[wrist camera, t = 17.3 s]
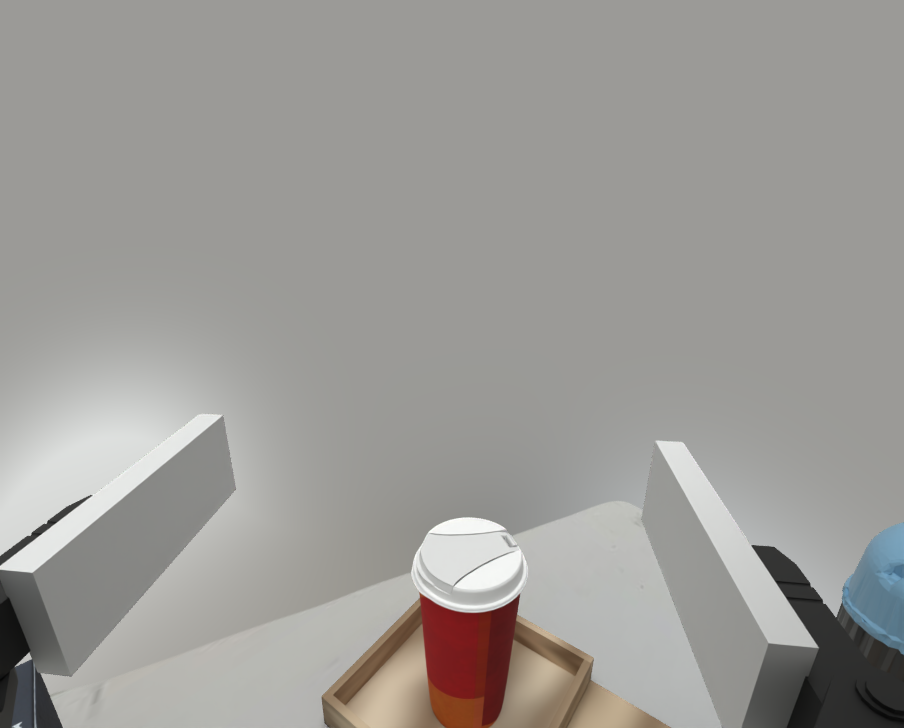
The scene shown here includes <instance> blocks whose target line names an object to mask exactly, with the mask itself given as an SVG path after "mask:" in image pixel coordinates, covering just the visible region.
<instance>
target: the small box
mask: <svg viewBox="0 0 904 728" xmlns="http://www.w3.org/2000/svg"><path fill="white" fill-rule="evenodd" d="M15 670H16V672H17V676H18V686H17V692H16V699H15V705H14V712H13V718H12V725H11V728H63V727H62V724H61V722H60V720H59V718H58V715H57V712H56V710H55V708H54V705H53V703H52V700H51V698H50V695H49V693H48V691H47V688H46V686H45V683H44V681H43V679H42V677H41V674H40V673H38V672H37V670H36V667H35V665H34V662H33V660H29V661H27V662H25V663H23V664H20V665H19V666H16V667H15Z"/></svg>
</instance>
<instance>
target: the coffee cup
mask: <svg viewBox="0 0 904 728" xmlns="http://www.w3.org/2000/svg"><path fill="white" fill-rule="evenodd" d="M411 576H412V579H413V582H414V584H415V586H416V588H417V589H418V591H419V593H420V603H421V615H422V626H423V637H424V647H425V658H426V668H427V678H428V687H429V696H430V702H431V706H432V709H433V712H434V714H435V716H436V718H437V719H438V720H439V722H440V723H441V724H442V725H443V726H445V727H446V728H489V727H490V726H492V725H493V724H494V722H495V721H496V720H497V718H498V716H499V714H500V712H501V709H502V705H503V701H504V696H505V690H506V684H507V678H508V671H509V665H510V658H511V652H512V645H513V639H514V632H515V625H516V618H517V612H518V605H519V598H520V593H521V591H522V590H523V588H524V586H525V584H526V581H527V576H528V567H527V562H526V559H525V557H524V555H523V553H522V551H521V550H520V549H519V547H518V544H517V543H516V542H515V540H514V539H513V537H512V536H511V535H510V534H508V532H507V530H506V529H505V528H504V527H502V526H500V525H499V524H497V523H494V522H491V521H488V520H485V519H480V518H457V519H452V520H449V521H446V522H443V523H441V524H439V525H437V526H436V527H434V528H433V529H432V530H430V531H429V533H428V534H427V536H426V538H425V540H424V542H423V544H422V545H421V546H420V548H419V550H418V551H417V553H416V555H415V558H414V562H413V567H412V571H411Z"/></svg>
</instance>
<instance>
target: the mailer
mask: <svg viewBox="0 0 904 728" xmlns="http://www.w3.org/2000/svg"><path fill="white" fill-rule="evenodd" d="M593 660H594V658H593V657H591V656H590V655H588V654H586V653H584V652H582V651H581V650H579V649H577V648H575V647H574V646H572V645H570V644H568V643H566V642H565V641H563V640H561V639H559V638H558V637H556V636H554V635H552V634H551V633H549V632H547V631H545V630H543V629H542V628H540V627H538V626H536V625H535V624H533V623H531V622H529V621H527V620H526V619H524V618H522V617H520V616H519V615H517V618H516V625H515V632H514V639H513V645H512V652H511V658H510V665H509V671H508V678H507V684H506V690H505V696H504V701H503V705H502V709H501V712H500V714H499V716H498V718H497V720H496V721H495V722H494V724H493V725H492V726H490V727H489V728H671V727H669V726H667V725H666V724H664V723H662V722H661V721H659V720H657V719H656V718H654V717H652V716H650V715H649V714H647V713H645V712H644V711H642V710H640V709H639V708H637V707H635V706H634V705H632V704H630V703H628V702H627V701H625V700H623V699H622V698H620V697H618V696H617V695H615V694H613V693H612V692H610V691H608V690H606V689H605V688H603V687H601V686H600V685H598V684H596V683H595V682H593V681H591V673H592V667H593ZM322 705H323V713H324V721H325V724H326V725H327V726H329V727H330V728H446V727H445V726H443V725H442V724H441V723H440V722H439V720H438V719H437V718H436V716H435V714H434V712H433V709H432V706H431V702H430V696H429V687H428V678H427V668H426V658H425V647H424V637H423V626H422V615H421V603H420V598H419V599H418V600H417V601H416V602H415V603H414V604H413V605H412V606H411V607H410V608H409V609H408V610H407V611H406V612H405V613H404V614H403V615H402V616H401V617H400V618H399V619H398V620H397V621H396V622H395V623H394V624H393V625H392V626H391V627H390V628H389V629H388V630H387V631H386V632H385V633H384V634H383V635H382V636H381V637H380V638H379V639H378V640H377V641H376V642H375V643H374V644H373V645H372V646H371V647H370V648H369V649H368V650H367V651H366V652H365V653H364V654H363V655H362V656H361V657H360V658H359V659H358V660H357V661H356V662H355V663H354V664H353V665H352V666H351V667H350V668H349V669H348V670H347V671H346V672H345V673H344V674H343V675H342V676H341V677H340V678H339V679H338V680H337V681H336V682H335V683H334V684H333V685H332V686H331V687H330V688H329V689H328V690H327V691H326V692H325V693H324V694H323V695H322Z"/></svg>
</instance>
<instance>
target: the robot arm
mask: <svg viewBox="0 0 904 728" xmlns="http://www.w3.org/2000/svg"><path fill="white" fill-rule="evenodd" d="M235 490H236V487H235V481H234V475H233V469H232V463H231V458H230V452H229V447H228V441H227V435H226V429H225V424H224V418H223V415H212V414H199V415H198V416H197V417H195V418H194V419H193V420H191V421H190V422H189V423H187V424H186V425H185V426H184V427H182V428H181V429H180V430H178V431H177V432H176V433H174V434H173V435H172V436H170V437H169V438H168V439H166V440H165V441H164V442H162V443H161V444H160V445H158V446H157V447H156V448H154V449H153V450H152V451H150V452H149V453H148V454H147V455H145V456H144V457H143V458H141V459H140V460H139V461H137V462H136V463H135V464H133V465H132V466H131V467H129V468H128V469H127V470H126V471H124V472H123V473H122V474H120V475H119V476H118V477H117V478H115V479H114V480H112V481H111V482H110V483H108V484H107V485H106V486H105V487H103V488H102V489H101V490H99V491H98V492H97V493H95V494H94V495H90V496H88V497H86V498H84V499H82V500H80V501H78V502H76V503H74V504H72V505H69V506H68V507H66V508H65V509H63V510H62V511H60V512H59V513H58V514H56V515H55V516H54V517H52V518H51V519H50V520H48V522H47V524H43V525H42V526H40V527H39V528H37V529H36V530H35V531H33V532H32V535H31V536H27V537H25V538H24V539H23V540H21V541H20V542H19V543H17V544H16V545H15V546H13V547H12V548H11V549H9V550H8V551H7V552H5V553H4V554H2V555H1V556H0V728H11V725H12V718H13V712H14V705H15V699H16V692H17V686H18V676H17V672H16V670H15V665H16V664H17V663H19V662H20V661H21V660H22V659H23V657H25V656H26V655H27V654H28V653H29V652H30V655H31V657H32V660H33V662H34V665H35V667H36V670H37V672H38V673H45V674H53V675H62V676H70V677H71V676H72V675H73V674H74V673H75V672H76V671H77V670H78V668H79V667H80V666H81V665H82V664H83V663H84V662H85V661H86V659H87V658H88V657H89V656H90V655H91V654H92V652H93V651H94V650H95V649H96V648H97V647H98V646H99V645H100V643H101V642H102V641H103V640H104V639H105V638H106V637H107V635H108V634H109V633H110V632H111V631H112V630H113V629H114V628H115V626H116V625H117V624H118V623H119V622H120V621H121V619H122V618H123V617H124V616H125V615H126V614H127V613H128V612H129V610H130V609H131V608H132V607H133V606H134V605H135V604H136V602H137V601H138V600H139V599H140V598H141V597H142V596H143V595H144V593H145V592H146V591H147V590H148V589H149V588H150V587H151V585H152V584H153V583H154V582H155V581H156V579H158V577H159V576H160V575H161V574H162V573H163V572H164V571H165V569H166V568H167V567H168V566H169V565H170V564H171V563H172V561H173V560H174V559H175V558H176V557H177V556H178V555H179V554H180V552H181V551H182V550H183V549H184V548H185V547H186V546H187V544H188V543H189V542H190V541H191V540H192V539H193V538H194V537H195V535H196V534H197V533H198V532H199V531H200V530H201V529H202V527H203V526H204V525H205V524H206V523H207V522H208V521H209V519H210V518H211V517H212V516H213V515H214V514H215V513H216V511H217V510H218V509H219V508H220V507H221V506H222V505H223V504H224V502H225V501H226V500H227V499H228V498H229V497H230V496H231V494H232V493H233V492H234V491H235ZM641 520H642V522H643V525H644V528H645V530H646V533H647V535H648V538H649V540H650V543H651V546H652V548H653V551H654V553H655V556H656V558H657V561H658V563H659V566H660V569H661V571H662V574H663V576H664V579H665V581H666V584H667V587H668V589H669V592H670V594H671V597H672V599H673V602H674V605H675V607H676V610H677V612H678V615H679V617H680V620H681V623H682V625H683V628H684V630H685V633H686V635H687V638H688V640H689V643H690V646H691V648H692V651H693V653H694V656H695V658H696V661H697V664H698V666H699V669H700V671H701V674H702V676H703V679H704V682H705V684H706V687H707V689H708V692H709V694H710V697H711V699H712V702H713V705H714V707H715V710H716V712H717V715H718V717H719V720H720V723H721V725H722V728H904V522H903V523H900V524H897V525H894V526H891V527H889V528H887V529H885V530H883V531H882V532H880V533H879V534H878V535H877V536H875V537H874V538H873V540H872V541H871V542H870V543H869V545H868V546H867V548H866V550H865V552H864V554H863V556H862V558H861V560H860V562H859V564H858V566H857V568H856V570H855V572H854V574H852V575H851V576H850V577H849V578H848V579H847V581H846V582H845V584H844V586H843V590H842V591H843V596H842V604H841V606H840V609H839V612H838V615H837V617H835V616H834V615H833V613H832V612H831V611H830V609H829V608H828V607H827V605H826V604H823V600H822V599H821V597H820V596H819V594H818V593H817V592H816V590H815V589H814V588H812V587H811V586H810V582H809V581H808V580H807V579H806V577H805V576H804V574H803V573H802V572H801V570H800V569H799V568H798V566H797V565H796V564H795V563H794V562H792V561H791V560H790V559H789V558H787V557H786V556H785V555H784V554H782V553H781V552H780V551H778V550H777V549H776V548H775V547H769V546H756V545H750V543H749V542H748V540H747V539H746V537H745V536H744V534H743V533H742V531H741V529H740V528H739V526H738V525H737V524H736V522H735V520H734V519H733V517H732V516H731V515H730V513H729V511H728V510H727V508H726V507H725V505H724V504H723V502H722V501H721V499H720V498H719V496H718V495H717V493H716V492H715V490H714V489H713V487H712V486H711V484H710V483H709V481H708V480H707V478H706V477H705V475H704V474H703V472H702V471H701V469H700V467H699V466H698V464H697V463H696V461H695V460H694V458H693V457H692V455H691V454H690V452H689V451H688V449H687V448H686V446H685V445H684V444H683V442H670V441H655V444H654V450H653V456H652V462H651V467H650V473H649V478H648V485H647V490H646V496H645V501H644V507H643V513H642V518H641Z"/></svg>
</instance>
